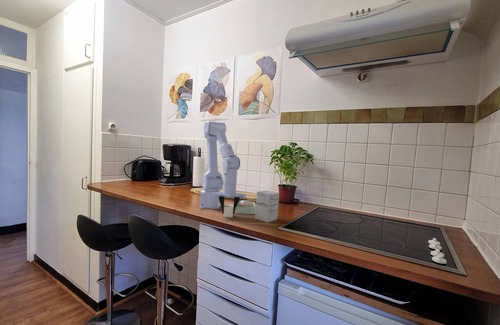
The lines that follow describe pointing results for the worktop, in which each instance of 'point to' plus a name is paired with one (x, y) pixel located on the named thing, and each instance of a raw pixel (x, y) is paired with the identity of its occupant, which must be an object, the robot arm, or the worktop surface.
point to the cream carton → (228, 210)
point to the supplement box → (267, 205)
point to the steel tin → (245, 203)
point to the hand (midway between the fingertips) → (228, 213)
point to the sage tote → (246, 209)
